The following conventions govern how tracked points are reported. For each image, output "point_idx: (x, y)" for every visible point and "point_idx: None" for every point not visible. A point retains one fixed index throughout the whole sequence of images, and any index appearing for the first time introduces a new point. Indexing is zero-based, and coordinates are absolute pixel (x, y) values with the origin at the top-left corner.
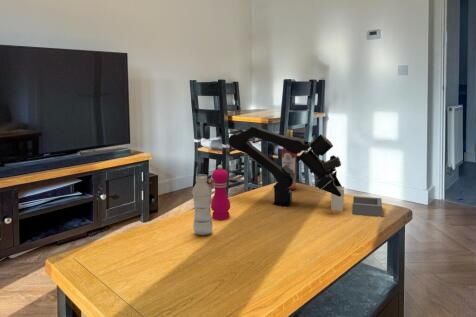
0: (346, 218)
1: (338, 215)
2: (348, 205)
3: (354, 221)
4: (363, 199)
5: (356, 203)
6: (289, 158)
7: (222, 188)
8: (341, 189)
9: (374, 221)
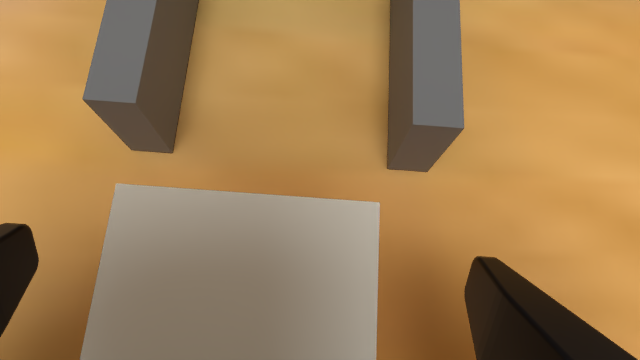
0: (575, 227)
1: None
2: None
3: (629, 157)
4: (163, 6)
5: (429, 82)
6: None
7: None
8: (369, 247)
9: (559, 6)
